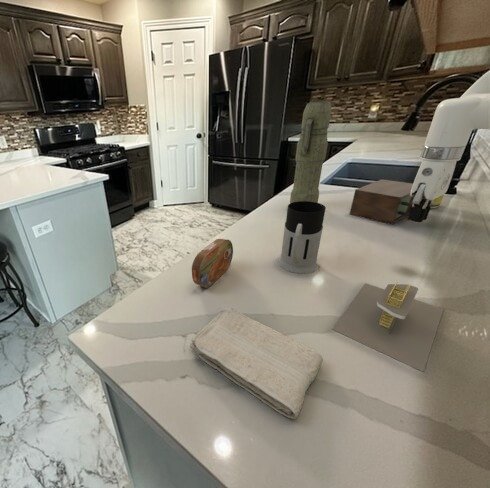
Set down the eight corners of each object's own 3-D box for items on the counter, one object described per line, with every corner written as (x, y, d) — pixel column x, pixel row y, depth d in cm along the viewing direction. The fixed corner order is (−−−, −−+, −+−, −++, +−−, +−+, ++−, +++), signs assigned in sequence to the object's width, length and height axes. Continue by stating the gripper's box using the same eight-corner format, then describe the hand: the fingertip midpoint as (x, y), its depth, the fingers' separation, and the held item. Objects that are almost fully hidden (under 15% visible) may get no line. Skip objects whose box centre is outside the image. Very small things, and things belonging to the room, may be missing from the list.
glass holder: (319, 258, 66) (330, 202, 59) (311, 290, 55) (324, 226, 49) (282, 252, 70) (289, 198, 63) (269, 280, 60) (275, 220, 53)
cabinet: (417, 211, 84) (426, 185, 80) (391, 224, 78) (400, 197, 74) (374, 202, 94) (381, 179, 90) (349, 214, 87) (355, 189, 83)
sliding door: (427, 218, 77) (434, 198, 74) (416, 224, 74) (424, 203, 71) (403, 213, 81) (409, 194, 78) (392, 218, 79) (398, 199, 76)
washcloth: (224, 313, 52) (224, 301, 50) (324, 363, 40) (328, 349, 39) (186, 352, 45) (185, 339, 43) (294, 426, 33) (298, 412, 32)
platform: (332, 329, 46) (339, 300, 43) (365, 283, 56) (373, 256, 53) (423, 372, 37) (441, 339, 34) (443, 308, 47) (458, 279, 44)
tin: (201, 294, 58) (200, 262, 54) (190, 289, 60) (188, 258, 56) (234, 263, 67) (234, 234, 64) (223, 260, 69) (223, 232, 66)
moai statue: (320, 205, 96) (340, 98, 80) (310, 216, 89) (330, 100, 73) (295, 202, 102) (308, 101, 86) (284, 212, 94) (296, 103, 78)
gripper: (448, 159, 60) (420, 231, 68) (474, 149, 66) (445, 216, 75) (408, 157, 66) (387, 223, 74) (435, 147, 72) (413, 209, 81)
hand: (416, 219), depth 75 cm, fingers closed
